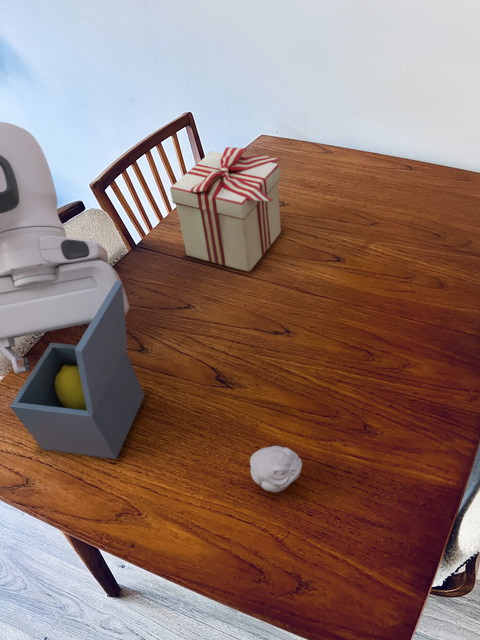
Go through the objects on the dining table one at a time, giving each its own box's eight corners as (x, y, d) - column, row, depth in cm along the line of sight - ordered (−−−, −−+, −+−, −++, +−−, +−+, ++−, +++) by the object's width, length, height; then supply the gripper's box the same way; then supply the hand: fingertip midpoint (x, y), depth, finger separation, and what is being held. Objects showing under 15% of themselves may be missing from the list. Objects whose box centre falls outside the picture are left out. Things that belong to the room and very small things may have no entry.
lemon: (112, 400, 79) (87, 353, 77) (102, 413, 74) (74, 364, 71) (79, 413, 79) (53, 367, 77) (66, 427, 74) (38, 378, 72)
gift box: (269, 277, 97) (261, 193, 84) (182, 261, 102) (162, 179, 89) (299, 227, 107) (296, 145, 94) (219, 214, 112) (205, 135, 99)
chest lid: (74, 349, 55) (81, 351, 55) (116, 280, 63) (122, 281, 63) (87, 413, 65) (93, 414, 65) (122, 346, 72) (127, 348, 72)
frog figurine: (292, 511, 66) (290, 484, 61) (244, 492, 68) (237, 465, 63) (310, 472, 70) (309, 443, 65) (263, 455, 72) (258, 427, 67)
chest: (41, 449, 75) (9, 406, 67) (76, 387, 82) (50, 342, 75) (116, 459, 73) (91, 416, 65) (144, 395, 80) (125, 349, 73)
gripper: (-64, 271, 62) (-35, 383, 63) (108, 239, 64) (134, 348, 66) (-39, 277, 68) (-12, 380, 69) (118, 249, 71) (140, 348, 72)
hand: (60, 364), depth 67 cm, fingers open, 8 cm apart
